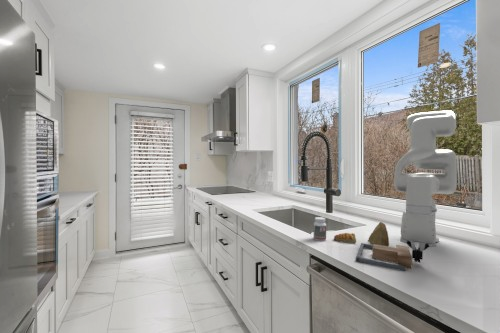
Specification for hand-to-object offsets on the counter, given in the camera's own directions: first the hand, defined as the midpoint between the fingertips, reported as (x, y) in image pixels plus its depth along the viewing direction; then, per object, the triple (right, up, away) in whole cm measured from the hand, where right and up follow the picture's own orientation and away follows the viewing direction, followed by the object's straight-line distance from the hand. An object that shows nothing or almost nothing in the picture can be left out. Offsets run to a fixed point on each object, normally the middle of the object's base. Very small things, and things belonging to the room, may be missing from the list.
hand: (417, 260), depth 87 cm
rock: (-4, -1, +19) cm, 20 cm away
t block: (-7, -1, +4) cm, 8 cm away
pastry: (-15, -1, +25) cm, 30 cm away
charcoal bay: (-9, -1, +6) cm, 11 cm away
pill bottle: (-27, -1, +27) cm, 38 cm away
